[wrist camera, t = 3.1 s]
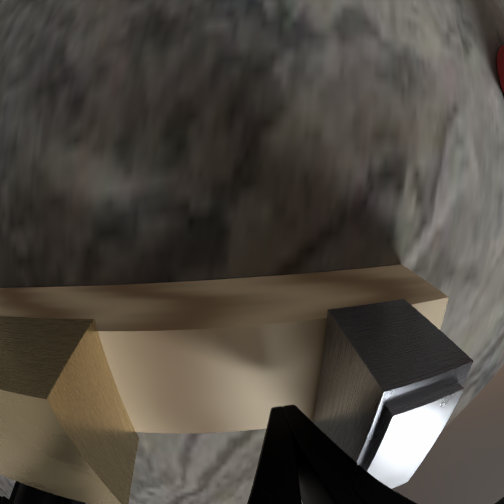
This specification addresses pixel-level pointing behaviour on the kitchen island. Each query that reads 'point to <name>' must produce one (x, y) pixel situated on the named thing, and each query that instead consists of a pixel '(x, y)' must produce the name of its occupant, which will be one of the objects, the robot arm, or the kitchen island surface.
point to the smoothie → (501, 65)
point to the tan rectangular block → (63, 411)
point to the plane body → (220, 339)
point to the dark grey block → (387, 386)
